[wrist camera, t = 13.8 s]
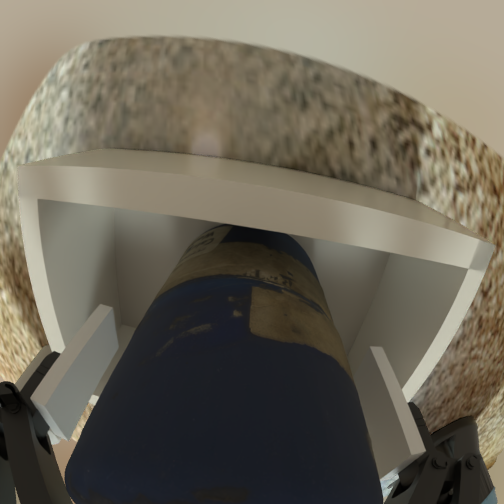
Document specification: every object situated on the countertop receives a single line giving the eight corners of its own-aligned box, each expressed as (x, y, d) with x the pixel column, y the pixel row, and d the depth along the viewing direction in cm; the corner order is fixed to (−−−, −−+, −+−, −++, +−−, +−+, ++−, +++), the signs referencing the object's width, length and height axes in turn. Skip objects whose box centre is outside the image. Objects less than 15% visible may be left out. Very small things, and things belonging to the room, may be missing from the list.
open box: (416, 200, 18) (495, 245, 9) (352, 363, 24) (375, 439, 16) (106, 148, 17) (17, 165, 9) (113, 326, 23) (70, 395, 15)
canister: (295, 339, 22) (320, 569, 5) (178, 322, 21) (103, 545, 5) (328, 226, 18) (484, 526, 1) (184, 204, 18) (-36, 477, 1)
